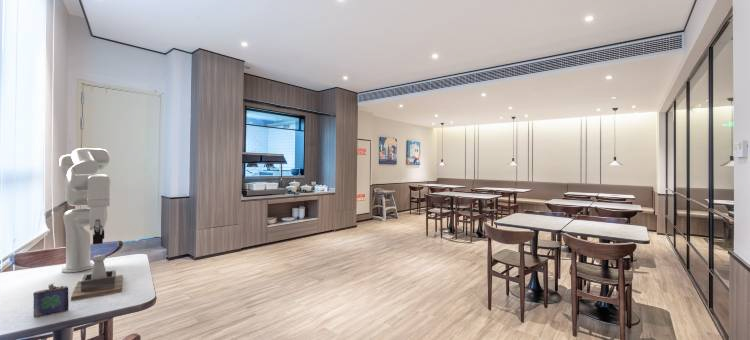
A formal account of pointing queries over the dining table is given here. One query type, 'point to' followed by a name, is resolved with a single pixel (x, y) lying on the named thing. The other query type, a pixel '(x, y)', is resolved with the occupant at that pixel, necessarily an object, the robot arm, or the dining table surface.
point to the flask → (51, 301)
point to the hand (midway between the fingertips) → (98, 241)
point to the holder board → (97, 286)
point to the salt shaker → (98, 267)
